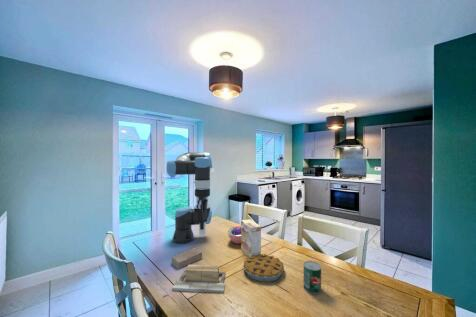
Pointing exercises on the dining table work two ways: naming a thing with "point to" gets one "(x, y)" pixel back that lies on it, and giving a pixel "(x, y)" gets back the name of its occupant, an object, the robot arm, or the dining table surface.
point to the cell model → (235, 234)
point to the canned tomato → (312, 277)
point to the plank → (202, 273)
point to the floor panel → (200, 285)
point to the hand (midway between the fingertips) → (202, 234)
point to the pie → (263, 267)
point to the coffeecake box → (250, 237)
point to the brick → (186, 258)
